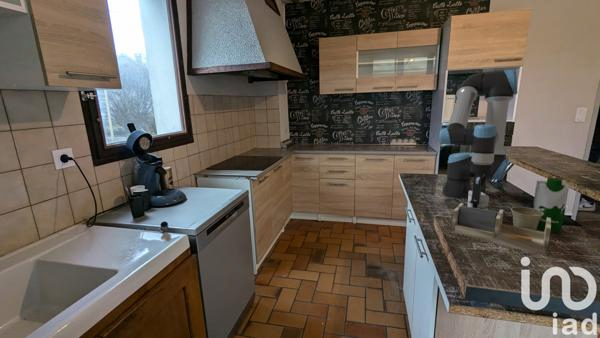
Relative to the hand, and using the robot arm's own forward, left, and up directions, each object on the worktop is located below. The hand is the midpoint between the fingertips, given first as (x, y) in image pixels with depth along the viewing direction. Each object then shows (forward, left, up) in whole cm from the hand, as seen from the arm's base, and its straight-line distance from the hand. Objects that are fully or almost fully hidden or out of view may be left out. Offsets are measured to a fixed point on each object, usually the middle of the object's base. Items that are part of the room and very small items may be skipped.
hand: (476, 214), depth 115 cm
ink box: (0, 0, -2) cm, 2 cm away
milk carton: (-6, +22, -2) cm, 23 cm away
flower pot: (+4, +16, -2) cm, 17 cm away
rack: (+15, +9, -2) cm, 18 cm away
